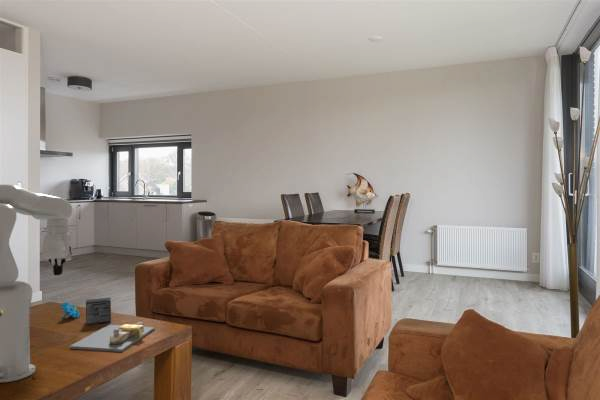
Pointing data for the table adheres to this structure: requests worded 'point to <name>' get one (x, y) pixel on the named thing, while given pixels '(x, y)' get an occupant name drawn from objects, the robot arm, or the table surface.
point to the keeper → (137, 329)
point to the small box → (98, 311)
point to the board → (107, 340)
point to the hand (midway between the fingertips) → (58, 274)
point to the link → (122, 334)
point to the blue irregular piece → (70, 310)
